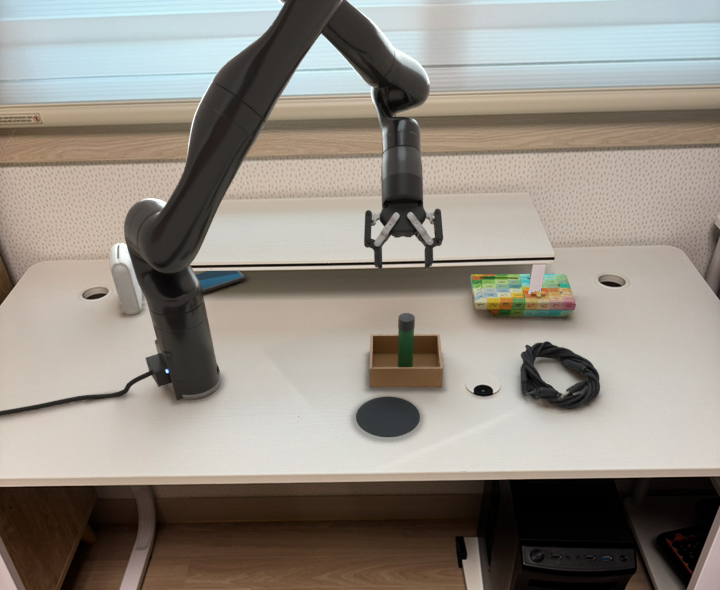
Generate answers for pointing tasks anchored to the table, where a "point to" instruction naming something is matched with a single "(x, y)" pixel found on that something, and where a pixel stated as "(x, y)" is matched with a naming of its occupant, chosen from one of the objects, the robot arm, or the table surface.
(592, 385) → the cable
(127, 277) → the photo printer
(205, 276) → the smartphone
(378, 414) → the coaster
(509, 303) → the puzzle game
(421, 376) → the box
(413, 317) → the glue stick
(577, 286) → the table surface
